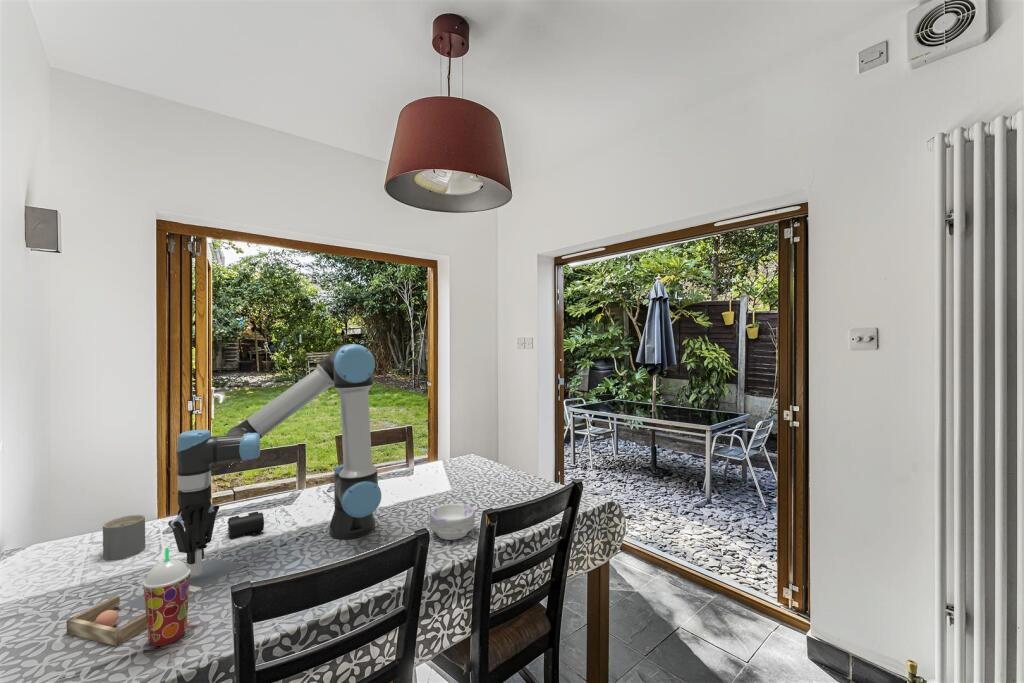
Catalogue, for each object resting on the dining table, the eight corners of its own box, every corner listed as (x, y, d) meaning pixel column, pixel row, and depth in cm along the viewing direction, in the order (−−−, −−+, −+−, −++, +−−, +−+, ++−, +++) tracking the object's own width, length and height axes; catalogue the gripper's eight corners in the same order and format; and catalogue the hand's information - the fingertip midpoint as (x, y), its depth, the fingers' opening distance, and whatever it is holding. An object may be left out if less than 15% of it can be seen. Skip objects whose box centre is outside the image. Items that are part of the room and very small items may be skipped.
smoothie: (161, 626, 102) (160, 540, 102) (199, 624, 103) (198, 538, 103) (133, 652, 94) (132, 558, 94) (175, 649, 94) (174, 556, 94)
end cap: (229, 543, 144) (229, 522, 144) (226, 536, 150) (226, 516, 150) (264, 534, 151) (264, 514, 151) (260, 528, 156) (259, 508, 156)
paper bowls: (484, 533, 150) (484, 510, 150) (449, 549, 139) (448, 524, 139) (455, 521, 160) (455, 499, 160) (420, 534, 149) (420, 511, 149)
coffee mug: (147, 552, 139) (147, 520, 139) (104, 564, 131) (104, 530, 131) (141, 539, 148) (140, 509, 148) (100, 549, 141) (100, 518, 141)
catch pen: (164, 618, 105) (164, 605, 105) (116, 646, 96) (116, 632, 96) (116, 607, 110) (116, 595, 110) (66, 633, 100) (66, 620, 100)
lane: (244, 567, 129) (244, 563, 129) (158, 616, 106) (158, 612, 106) (212, 561, 132) (212, 558, 132) (122, 608, 109) (122, 604, 109)
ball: (125, 620, 103) (119, 606, 102) (106, 635, 100) (100, 621, 99) (112, 618, 104) (106, 604, 103) (93, 633, 101) (87, 619, 100)
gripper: (206, 479, 128) (207, 560, 128) (159, 494, 116) (160, 584, 116) (226, 481, 126) (227, 563, 126) (181, 497, 113) (182, 588, 113)
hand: (195, 573), depth 121 cm, fingers closed
